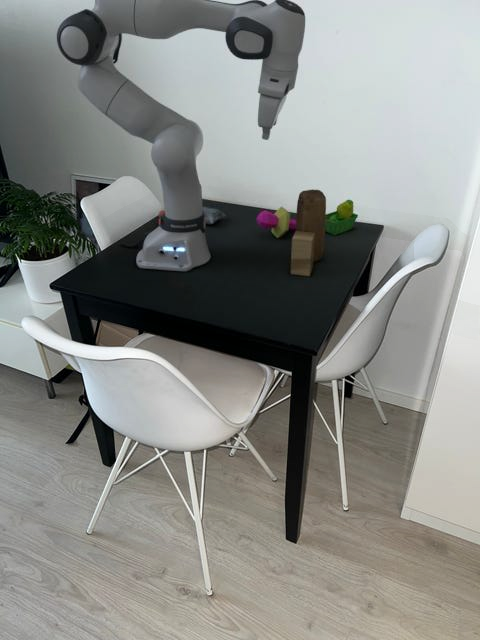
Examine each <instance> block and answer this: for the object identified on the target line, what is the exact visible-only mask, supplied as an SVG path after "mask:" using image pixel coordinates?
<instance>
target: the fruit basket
mask: <svg viewBox="0 0 480 640" xmlns="http://www.w3.org/2000/svg"><path fill="white" fill-rule="evenodd" d="M358 216H359V214H357V213H354V201H353V200H352V199H346V200H345V201H343V202H341V203H340V204H338V205H337V206H336V210H335V211H332V212H329V213H326V222H325V233H328V234H330V235H333V236H337V235H338V234H342V233H344V232H347V231H350V230H352V229H353V227H354V226H355V223H356V221H357V218H359V217H358Z"/></svg>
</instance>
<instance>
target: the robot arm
mask: <svg viewBox="0 0 480 640" xmlns="http://www.w3.org/2000/svg"><path fill="white" fill-rule="evenodd" d="M195 29H202V30H209V31H215V32H222V33H225V36H224V37H225V44H226V46H227V48H228V50H229V52H230V53H231V54H232V55H233V56H234V57H236V58H238V59H241V60H248V61H249V60H250V61H255V60H257V61H259V60H261V62H262V63H261V67H260V68H261V70H260V75H259V82H258V83H259V84H258V87H257V93H258V94H259V99H258V110H257V126H258V127H259V128H261V129H262V130H261V131H262V135H261V139H262V140H265V141H268V140H270V136H271V130H272V129H273V127H274V126H276V125H277V123H278V118H279V115H280V113H281V111H282V109H283V107H284V105H285V103H286V100H287V95H289V92H290V91H292V90H294V89H295V85H296V82H297V81H296V80H297V75H298V71H299V56H300V54H301V52H302V50H303V46H304V45H303V44H304V40H305V39H304V38H305V33H306V32H305V31H306V14H305V11H304V10H303V7H301V6H300V5H299V4H297V3H296V2H293V1H291V0H273V2H270V3H269V4H268V3H266V2H265V1H263V0H247V1H244V2H239V3H230V2H223V1H218V0H94V7H93V8H92V9H91V10H90V9H89V8H86V9H82V10H80V11H78V12H76V13H74V14H71V15H70V16H68V17H66V18H65V19H64V20H63V21H62V22H61V23H60V25H59V26H58V28H57V31H56V43H57V47H58V49H59V52H60V53H61V54H62V56H63V57H64V58H65V59H66V60H68V61H69V62H70V63H72V64H74V65H77V66H80V70H79V72H78V75H77V80H76V81H77V87H78V89H79V92H80V93H81V94H82V95H83V96H84V97H85V98H86V99H87V100H88V102H90V103H91V104H92V105H93V106H94V107H95V108H96V109H97V110H98V111H100V112H101V113H102V115H104V116H106V117H107V118H109V120H111V121H112V122H113V123H115V124H116V125H118V126H119V127H120V128H121V129H122V130H123V131H125V132H126V133H128V134H129V135H131V136H133V137H135V138H138V139H142V140H144V141H146V142H148V143H150V144H152V146H151V150H150V157H151V161H152V163H153V165H154V167H155V168H156V170H157V174H158V178H159V181H160V184H161V185H160V186H161V190H162V196H163V207H164V210H160V211H159V213H158V226H157V227H156V228H155V229H153V230H152V231H144V237H142V238H140V239H139V240H137V241H136V242H135V243H127V242H124V241H121V242H120V245H121V246H124V247H127V248H135V247H137V246H139V245H140V244H141V243H143V245H142V249H140V251H138V253H137V255H136V258H135V259H136V261H135V263H136V266H137V267H138V268H139V269H147V270H148V269H149V270H161V271H162V270H163V271H174V272H188V271H190V270H192V269H193V268H196V267H200V266H202V265H204V264H206V263H207V262H209V261H210V260H211V257H212V256H211V253H210V250H209V247H208V243H207V242H208V241H207V238H206V229H207V228H206V225H207V224H205V215H204V212H203V207H204V206H203V189H202V185H201V183H200V179H199V174H198V170H197V158H198V155H199V154H200V153H201V151H202V150H203V146H204V134H203V130H202V128H201V127H200V125H199V124H198V123H197V122H195V121H193V120H191V119H188V118H187V117H184V115H181V114H180V113H178V112H177V111H174V110H173V109H171V108H170V107H168V106H166V105H164V104H162V103H161V102H159V101H158V100H156V99H154V97H152V96H151V95H149V94H148V93H147V92H146V91H144V90H143V89H142V88H141V87H140V86H138V85H136V83H134V82H133V81H132V80H130V79H129V78H128V77H127V76H125V75H124V74H122V72H120V71H119V70H118V69H117V68H116V66H115V64H116V63H117V62H118V61H119V55H120V50H121V46H122V42H123V34H125V35H130V36H136V37H138V38H139V37H140V38H143V39H148V40H167V39H170V38H173V37H175V36H177V35H179V34H181V33H184V32H187V31H190V30H195Z"/></svg>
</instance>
